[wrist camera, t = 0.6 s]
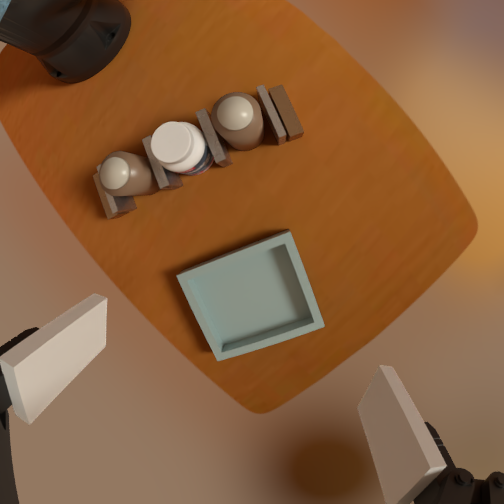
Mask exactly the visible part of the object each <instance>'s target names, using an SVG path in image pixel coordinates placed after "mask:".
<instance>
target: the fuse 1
mask: <svg viewBox="0 0 504 504" xmlns="http://www.w3.org/2000/svg"><path fill="white" fill-rule="evenodd" d="M99 182H100V185H101V187H102V189H103V190H104V191H105V192H106V193H107V194H109V195H111V196H134V195H152V194H154V193H156V192H158V191H159V190H160V187H159V184H158V182H157V179H156V177H155V174H154V171H153V169H152V166H151V163H150V161H149V158H148V157H144V156H140V155H136V154H132V153H128V152H124V151H116V152H113V153H111V154H109V155H108V156H107V157H106V158H105V159H104V160H103V162H102V164H101V166H100V170H99Z"/></svg>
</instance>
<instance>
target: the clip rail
mask: <svg viewBox="0 0 504 504" xmlns="http://www.w3.org/2000/svg"><path fill="white" fill-rule="evenodd" d="M256 89H257V94H258V99H259V102H260V105H261V107H262V109H263V111H264V113H265V116H266V118H267V120H268V122H269V125H270V127H271V129H272V131H273V134H274V136H275V138H276V141H277V143H278V145H281V144H284V143H285V140H286V136H287V138H288V140H289V141H292V140H295V139H297V138H300V137H302V135H303V133H304V131H303V128H302V126H301V124H300V122H299V119H298V117H297V115H296V113H295V111H294V108H293V106H292V104H291V102H290V100H289V98H288V96H287V94H286V92H285V89H284V87H283V85H279V86H276V87H273V88H270V89H269V95H268V93H267V91H266V89H265V87H264V85H261V86H258V87H256ZM195 113H196V115H197V118H198V120H199V123H200V125H201V128H202V130H203V132H204V135H205V137H206V140H207V142H208V145H209V147H210V150H211V152H212V154H213V157H214V159H215V162H216V163H217V164H219V165H221V166H223V167H226V166H229V165H231V164H233V162H232V160H231V158H230V155H229V153H228V150H227V148H226V146H225V143H224V141H223V138H222V136H221V135H220V134H219V133H218V131H217V130H216V129H215V128H214V126H213V124H212V120H211V115H210V113H209V112H208V111H207V110H206V109H205V108H204V109H202V110H200V111H198V112H195ZM151 139H152V135H150V136H148V137H146V138H144V139H142V141H143V144H144V147H145V150H146V152H147V155H148V158H149V161H150V163H151V166H152V169H153V171H154V174H155V177H156V179H157V182H158V184H159V187H160V189H177V188H179V187H182V186H183V184H182V181H181V179H180V176H179V173H177V172H172V171H170V170H167V169H166V168H164V167H163V166H162V165H161V164H160V163H159V161H158V159H157V158H156V157H155V156H154V154H153V152H152V149H151ZM100 166H101V164H100V165H98V166H97V170H98V173H96V174H94V175H93V178H94V181H95V184H96V187H97V190H98V193H99V196H100V199H101V202H102V205H103V207H104V210H105V213H106V216H107V218H108V219H114V218H119V217H121V216H123V215H125V214H127V213H129V211H133V210H135V209H137V207H136V204H135V202H134V199H133V196H111V195H109V194H107V193H106V192H105V191H104V190H103V189H102V187H101V185H100V182H99V170H100Z"/></svg>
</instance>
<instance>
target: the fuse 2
mask: <svg viewBox="0 0 504 504" xmlns="http://www.w3.org/2000/svg"><path fill="white" fill-rule="evenodd" d="M211 120H212V124H213V126H214V128H215V129H216V130H217V131H218V133H219V134H220V135H221V136H222V137H223V138H224V139H225V140H226V141H227V142H228V143H229V144H230V145H231V146H232V147H233V148H235V149H237V150H240V151H249V150H252V149H254V148H256V147H257V146H259V145H260V143H261V142H262V140H263V138H264V134H265V130H264V124H263V119H262V113H261V108H260V106H259V104H258V102H257V101H256V100H255V99H254V98H253V97H252V96H250V95H248V94H246V93H241V92H233V93H229V94H226V95H224V96H223V97H221V98H220V99H219V100H218V101H217V102H216V103H215V105H214V107H213V109H212V113H211Z"/></svg>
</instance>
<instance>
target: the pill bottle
mask: <svg viewBox="0 0 504 504" xmlns="http://www.w3.org/2000/svg"><path fill="white" fill-rule="evenodd" d="M151 149H152V152H153V154H154V156H155V157H156V158H157V159H158V161H159V163H160V164H161V165H162V166H163V167H164V168H166V169H167V170H170V171H172V172H177V173H181V174H186V175H198V174H201V173H203V172H205V171H206V170H207V169H208V168H209V167H210V166H211V165H212V163H213V161H214V157H213V154H212V152H211V150H210V147H209V145H208V142H207V140H206V137H205V135H204V133H203V132H202V131H201V130H199V129H198V128H197V127H196V126H194V125H192V124H190V123H187V122H167V123H164V124H163V125H161V126H160V127H158V128H157V129H156V131H155V132H154V134H153V136H152V139H151Z"/></svg>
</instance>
